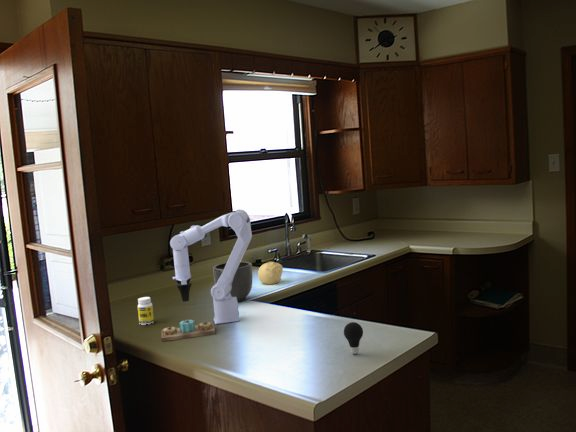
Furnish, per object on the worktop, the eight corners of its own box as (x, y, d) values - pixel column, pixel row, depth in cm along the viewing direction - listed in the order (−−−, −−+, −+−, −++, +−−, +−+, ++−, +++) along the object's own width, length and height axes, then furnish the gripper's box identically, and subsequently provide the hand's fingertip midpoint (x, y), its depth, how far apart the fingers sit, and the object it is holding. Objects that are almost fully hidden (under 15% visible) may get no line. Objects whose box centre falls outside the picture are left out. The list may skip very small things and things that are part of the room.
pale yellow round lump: (275, 286, 265) (273, 264, 264) (254, 285, 272) (252, 263, 270) (287, 280, 275) (285, 259, 274) (266, 279, 281) (265, 259, 280)
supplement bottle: (139, 326, 217) (136, 300, 216) (139, 322, 222) (136, 297, 221) (154, 323, 218) (151, 298, 217) (154, 320, 224) (151, 295, 223)
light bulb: (362, 350, 171) (360, 319, 169) (366, 357, 165) (363, 324, 164) (344, 351, 170) (341, 320, 169) (346, 358, 165) (344, 326, 163)
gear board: (212, 325, 209) (211, 313, 208) (215, 333, 199) (213, 320, 199) (161, 333, 205) (160, 320, 204) (161, 341, 195) (160, 328, 195)
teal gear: (194, 327, 205) (193, 318, 205) (195, 331, 200) (194, 322, 200) (179, 329, 204) (179, 320, 204) (180, 333, 199) (179, 325, 198)
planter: (210, 306, 238) (206, 270, 237) (224, 295, 255) (220, 261, 253) (247, 305, 234) (244, 268, 233) (259, 295, 251) (256, 260, 249)
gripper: (171, 263, 221) (174, 296, 222) (171, 269, 206) (175, 304, 208) (189, 261, 222) (192, 293, 223) (190, 267, 208) (194, 302, 209)
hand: (185, 298), depth 216 cm, fingers open, 7 cm apart
